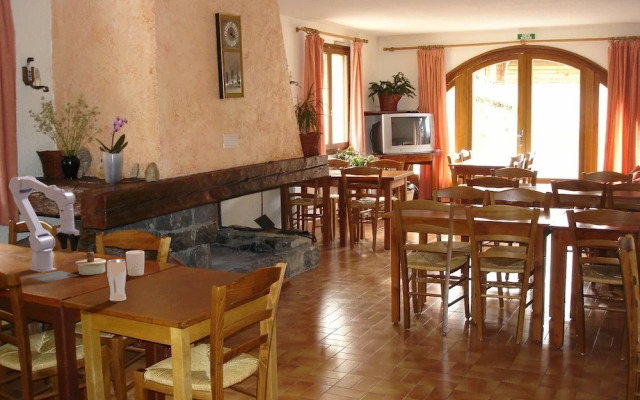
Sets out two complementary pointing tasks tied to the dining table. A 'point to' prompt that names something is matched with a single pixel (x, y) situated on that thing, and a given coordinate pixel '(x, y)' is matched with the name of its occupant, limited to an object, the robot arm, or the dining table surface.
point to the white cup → (135, 262)
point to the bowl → (91, 269)
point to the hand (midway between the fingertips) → (69, 250)
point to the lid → (90, 260)
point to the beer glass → (116, 279)
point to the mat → (53, 276)
